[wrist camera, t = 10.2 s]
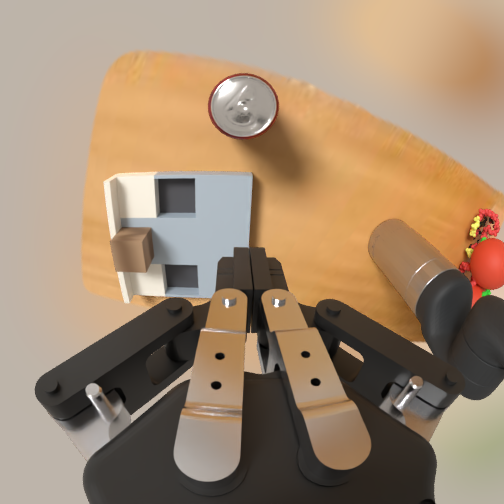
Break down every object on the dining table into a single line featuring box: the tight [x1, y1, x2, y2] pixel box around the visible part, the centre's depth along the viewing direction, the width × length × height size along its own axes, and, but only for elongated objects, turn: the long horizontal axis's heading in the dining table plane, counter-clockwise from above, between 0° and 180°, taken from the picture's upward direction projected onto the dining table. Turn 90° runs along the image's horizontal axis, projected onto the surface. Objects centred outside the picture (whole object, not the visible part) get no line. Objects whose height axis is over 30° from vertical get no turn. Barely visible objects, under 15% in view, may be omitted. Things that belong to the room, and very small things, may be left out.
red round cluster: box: [460, 209, 504, 307], centre depth 44 cm, size 25×11×16 cm, turn 175°
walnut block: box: [110, 227, 154, 273], centre depth 39 cm, size 5×5×5 cm
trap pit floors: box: [158, 178, 199, 288], centre depth 44 cm, size 6×20×1 cm, turn 177°
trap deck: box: [112, 171, 253, 298], centre depth 43 cm, size 21×21×2 cm
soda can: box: [208, 73, 279, 140], centre depth 30 cm, size 7×7×12 cm
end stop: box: [104, 177, 134, 303], centre depth 40 cm, size 1×21×2 cm, turn 177°
